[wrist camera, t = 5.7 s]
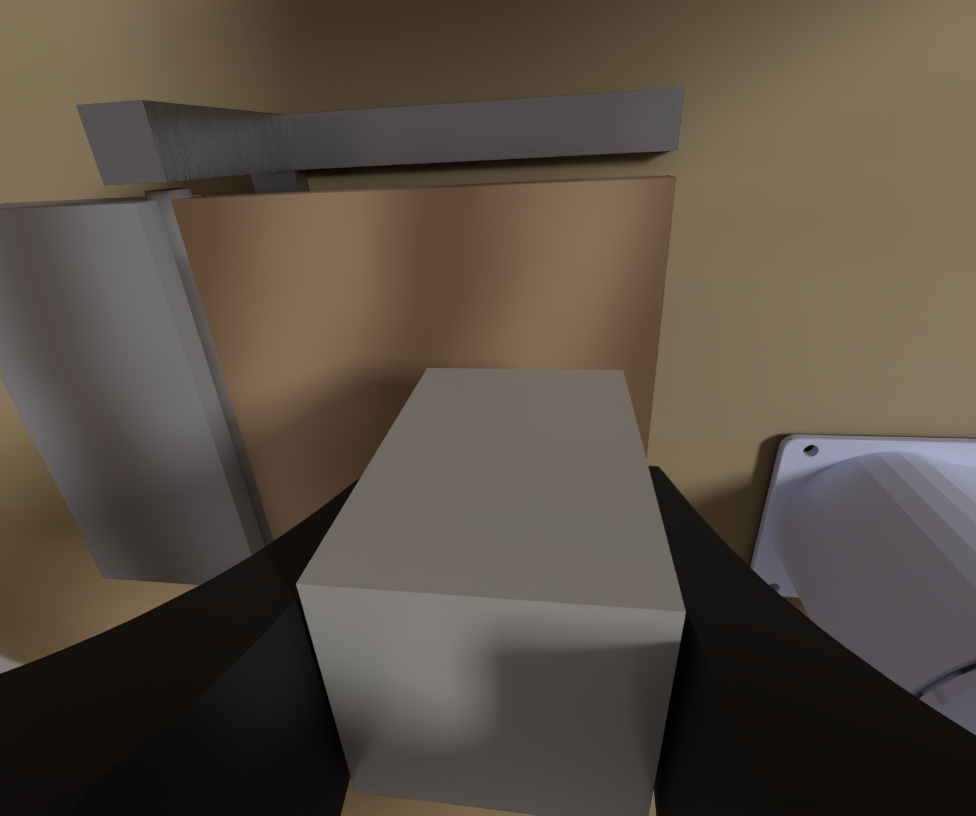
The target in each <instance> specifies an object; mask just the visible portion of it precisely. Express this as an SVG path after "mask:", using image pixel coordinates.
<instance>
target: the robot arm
mask: <svg viewBox="0 0 976 816" xmlns="http://www.w3.org/2000/svg"><path fill="white" fill-rule="evenodd" d="M809 445H814V447H813V449H811V450H810V451H803V450H804V449H805V447H807V446H809ZM648 467H649V471H650V475H651V479H652V483H653V487H654V491H655V494H656V498H657V502H658V506H659V510H660V514H661V518H662V522H663V525H664V529H665V533H666V537H667V541H668V545H669V549H670V553H671V556H672V560H673V564H674V568H675V572H676V576H677V580H678V583H679V587H680V591H681V595H682V599H683V603H684V607H685V611H686V614H685V620H684V625H683V630H682V636H681V641H680V647H679V652H678V658H677V663H676V669H675V674H674V680H673V685H672V691H671V696H670V701H669V707H668V712H667V718H666V723H665V729H664V734H663V740H662V745H661V751H660V756H659V762H658V767H657V772H656V778H655V783H654V796H655V806H656V816H976V439H967V438H925V437H882V436H839V435H790V436H787V437H785V438H784V439H783V440H782V441H781V443H780V445H779V448H778V452H777V456H776V460H775V465H774V469H773V473H772V477H771V482H770V486H769V490H768V494H767V498H766V503H765V507H764V511H763V515H762V519H761V524H760V528H759V532H758V536H757V540H756V545H755V549H754V553H753V557H752V562H751V566H750V567H749V566H748V565H747V564H746V563H745V562H744V561H743V560H742V559H741V558H740V557H739V556H738V555H737V554H736V553H735V552H734V551H733V550H732V549H731V548H730V547H729V546H728V545H727V544H726V543H725V542H724V541H723V540H722V539H721V537H720V536H719V535H718V534H717V533H716V532H715V531H714V530H713V529H712V528H711V527H710V526H709V525H708V524H707V522H706V521H705V520H704V519H703V518H702V517H701V516H700V515H699V514H698V512H697V511H696V510H695V509H694V508H693V507H692V505H691V504H690V503H689V502H688V501H687V500H686V498H685V497H684V496H683V495H682V494H681V493H680V491H679V490H678V489H677V488H676V487H675V485H674V484H673V483H672V482H671V480H670V479H669V478H668V477H667V476H666V474H665V473H664V472H663V471H662V470H661V469H660V468H659V467H658V466H648ZM360 478H361V477H360ZM360 478H358V479H357V480H356V481H355V482H353V483H352V484H351V485H350V486H348V487H347V488H346V489H344V490H343V491H342V492H341V493H339V494H338V495H337V496H335V497H334V498H333V499H331V500H330V501H329V502H327V503H326V504H325V505H324V506H322V507H321V508H320V509H318V510H317V511H316V512H314V513H313V514H312V515H310V516H309V517H307V518H306V519H304V520H303V521H302V522H300V523H299V524H297V525H296V526H294V527H293V528H292V529H290V530H289V531H287V532H286V533H284V534H283V535H281V536H280V537H279V538H277V539H276V540H274V541H273V542H271V543H270V544H268V545H267V546H265V547H264V548H262V549H261V550H259V551H258V552H256V553H254V554H253V555H251V556H250V557H248V558H246V559H245V560H243V561H241V562H240V563H238V564H236V565H235V566H233V567H231V568H229V569H228V570H226V571H224V572H223V573H221V574H219V575H217V576H216V577H214V578H212V579H210V580H209V581H207V582H205V583H203V584H201V585H199V586H197V587H196V588H194V589H192V590H190V591H188V592H186V593H184V594H182V595H180V596H178V597H176V598H174V599H172V600H170V601H168V602H166V603H164V604H162V605H160V606H158V607H156V608H154V609H152V610H150V611H148V612H146V613H144V614H142V615H140V616H138V617H136V618H134V619H132V620H130V621H127V622H125V623H123V624H121V625H118V626H116V627H114V628H112V629H110V630H107V631H105V632H103V633H101V634H98V635H96V636H94V637H91V638H89V639H87V640H84V641H82V642H80V643H77V644H75V645H73V646H70V647H68V648H65V649H63V650H61V651H58V652H56V653H53V654H51V655H48V656H46V657H43V658H41V659H38V660H36V661H33V662H31V663H28V664H25V665H23V666H20V667H17V668H15V669H12V670H9V671H7V672H4V673H1V674H0V816H340V815H341V811H342V807H343V804H344V800H345V796H346V792H347V788H348V784H349V780H350V776H351V775H350V772H349V768H348V765H347V761H346V758H345V754H344V751H343V747H342V744H341V740H340V737H339V733H338V730H337V726H336V723H335V719H334V716H333V712H332V709H331V705H330V702H329V698H328V695H327V691H326V687H325V684H324V680H323V677H322V673H321V670H320V666H319V663H318V659H317V656H316V652H315V649H314V645H313V642H312V638H311V635H310V631H309V628H308V624H307V621H306V617H305V614H304V610H303V607H302V603H301V600H300V596H299V593H298V589H297V586H296V583H297V581H298V580H299V578H300V577H301V575H302V573H303V572H304V570H305V568H306V567H307V565H308V563H309V562H310V560H311V558H312V557H313V555H314V554H315V552H316V550H317V549H318V547H319V545H320V544H321V542H322V540H323V539H324V537H325V535H326V534H327V532H328V530H329V529H330V527H331V526H332V524H333V522H334V521H335V519H336V517H337V516H338V514H339V512H340V511H341V509H342V507H343V506H344V504H345V503H346V501H347V499H348V498H349V496H350V494H351V493H352V491H353V489H354V488H355V486H356V484H357V483H358V481H359V480H360ZM771 584H775V585H773V586H770V585H771ZM782 596H783V597H798V598H799V599H800V601H801V603H802V604H803V606H804V608H805V610H806V612H807V614H808V616H809V618H810V619H809V618H808V617H807V616H805V615H804V614H803V613H802V612H800V611H799V610H798V609H797V608H796V607H794V606H793V605H792V604H791V603H790V602H788V601H787V600H786V599H785V598H783V597H782Z"/></svg>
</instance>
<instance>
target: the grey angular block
mask: <svg viewBox="0 0 976 816" xmlns="http://www.w3.org/2000/svg"><path fill="white" fill-rule="evenodd" d="M683 93H684V88H670V89H656V90H641V91H626V92H611V93H596V94H581V95H567V96H552V97H537V98H522V99H507V100H493V101H478V102H463V103H448V104H433V105H418V106H404V107H389V108H374V109H359V110H344V111H329V112H315V113H300V114H285V115H283V114H273V113H263V112H253V111H243V110H234V109H224V108H214V107H204V106H195V105H185V104H175V103H165V102H155V101H146V100H137V101H124V102H110V103H97V104H84V105H76V107H77V109H78V112H79V115H80V118H81V121H82V124H83V126H84V129H85V132H86V135H87V138H88V141H89V144H90V146H91V149H92V152H93V155H94V158H95V161H96V163H97V166H98V169H99V172H100V175H101V178H102V180H103V183H104V185H121V184H141V183H161V182H174V181H185V180H195V179H205V178H216V177H226V176H237V175H247V174H250V175H251V179H252V183H253V188H254V192H255V194H261V193H283V192H306V191H309V186H308V181H307V176H306V170H305V169H322V168H342V167H361V166H381V165H401V164H420V163H440V162H459V161H479V160H499V159H518V158H538V157H558V156H577V155H597V154H616V153H636V152H656V151H675V150H678V141H679V132H680V122H681V113H682V103H683Z"/></svg>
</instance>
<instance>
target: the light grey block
mask: <svg viewBox="0 0 976 816" xmlns="http://www.w3.org/2000/svg"><path fill="white" fill-rule="evenodd" d="M296 586H297V589H298V593H299V596H300V600H301V603H302V607H303V610H304V614H305V617H306V621H307V624H308V628H309V631H310V635H311V638H312V642H313V645H314V649H315V652H316V656H317V659H318V663H319V666H320V670H321V673H322V677H323V680H324V684H325V687H326V691H327V695H328V698H329V702H330V705H331V709H332V712H333V716H334V719H335V723H336V726H337V730H338V733H339V737H340V740H341V744H342V747H343V751H344V754H345V758H346V761H347V765H348V768H349V772H350V775H351V779H352V782H353V786H354V789H355V792H360V793H368V794H376V795H384V796H392V797H399V798H407V799H415V800H423V801H431V802H439V803H446V804H454V805H462V806H470V807H478V808H485V809H493V810H501V811H509V812H517V813H525V814H532V815H540V816H649V811H650V805H651V800H652V794H653V789H654V783H655V778H656V772H657V767H658V762H659V756H660V751H661V745H662V740H663V734H664V729H665V723H666V718H667V712H668V707H669V701H670V696H671V691H672V685H673V680H674V674H675V669H676V663H677V658H678V652H679V647H680V641H681V636H682V630H683V625H684V620H685V614H686V611H685V607H684V603H683V599H682V595H681V591H680V587H679V583H678V580H677V576H676V572H675V568H674V564H673V560H672V556H671V553H670V549H669V545H668V541H667V537H666V533H665V529H664V525H663V522H662V518H661V514H660V510H659V506H658V502H657V498H656V494H655V491H654V487H653V483H652V479H651V475H650V471H649V467H648V463H647V460H646V456H645V452H644V448H643V444H642V440H641V436H640V433H639V429H638V425H637V421H636V417H635V413H634V409H633V405H632V402H631V398H630V394H629V390H628V386H627V382H626V378H625V374H624V371H623V370H559V369H471V368H427V369H426V371H425V373H424V374H423V376H422V378H421V379H420V381H419V382H418V384H417V386H416V387H415V389H414V391H413V392H412V394H411V396H410V397H409V399H408V401H407V402H406V404H405V406H404V407H403V409H402V410H401V412H400V414H399V415H398V417H397V419H396V420H395V422H394V424H393V425H392V427H391V429H390V430H389V432H388V433H387V435H386V437H385V438H384V440H383V442H382V443H381V445H380V447H379V448H378V450H377V452H376V453H375V455H374V456H373V458H372V460H371V461H370V463H369V465H368V466H367V468H366V470H365V471H364V473H363V475H362V476H361V478H360V480H359V481H358V483H357V484H356V486H355V488H354V489H353V491H352V493H351V494H350V496H349V498H348V499H347V501H346V503H345V504H344V506H343V507H342V509H341V511H340V512H339V514H338V516H337V517H336V519H335V521H334V522H333V524H332V526H331V527H330V529H329V530H328V532H327V534H326V535H325V537H324V539H323V540H322V542H321V544H320V545H319V547H318V549H317V550H316V552H315V554H314V555H313V557H312V558H311V560H310V562H309V563H308V565H307V567H306V568H305V570H304V572H303V573H302V575H301V577H300V578H299V580H298V581H297V583H296Z"/></svg>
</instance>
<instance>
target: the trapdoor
mask: <svg viewBox="0 0 976 816" xmlns="http://www.w3.org/2000/svg"><path fill="white" fill-rule="evenodd" d="M675 182H676V177H673V176H670V175H666V176H643V177H621V178H598V179H576V180H553V181H531V182H508V183H486V184H463V185H441V186H418V187H396V188H373V189H351V190H328V191H306V192H283V193H261V194H238V195H216V196H201V194H197V195H192V192H191V189H190V188H177V189H162V190H151V191H145V194H146V197H130V198H108V199H86V200H64V201H41V202H19V203H4V204H0V377H1V379H2V381H3V383H4V385H5V387H6V389H7V391H8V393H9V395H10V397H11V399H12V401H13V402H14V404H15V406H16V408H17V410H18V412H19V414H20V416H21V418H22V420H23V422H24V424H25V426H26V428H27V430H28V432H29V434H30V436H31V438H32V440H33V441H34V443H35V445H36V447H37V449H38V451H39V453H40V455H41V457H42V459H43V461H44V463H45V465H46V467H47V469H48V471H49V473H50V475H51V477H52V478H53V480H54V482H55V484H56V486H57V488H58V490H59V492H60V494H61V496H62V498H63V500H64V502H65V504H66V506H67V508H68V510H69V512H70V514H71V515H72V517H73V519H74V521H75V523H76V525H77V527H78V529H79V531H80V533H81V535H82V537H83V539H84V541H85V543H86V545H87V547H88V549H89V551H90V553H91V554H92V556H93V558H94V560H95V562H96V564H97V566H98V568H99V570H100V572H101V574H102V576H103V578H111V579H124V580H138V581H152V582H165V583H179V584H193V585H201V584H203V583H205V582H207V581H209V580H210V579H212V578H214V577H216V576H217V575H219V574H221V573H223V572H224V571H226V570H228V569H229V568H231V567H233V566H235V565H236V564H238V563H240V562H241V561H243V560H245V559H246V558H248V557H250V556H251V555H253V554H254V553H256V552H258V551H259V550H261V549H262V548H264V547H265V546H267V545H268V544H270V543H271V542H273V541H274V540H276V539H277V538H279V537H280V536H281V535H283V534H284V533H286V532H287V531H289V530H290V529H292V528H293V527H294V526H296V525H297V524H299V523H300V522H302V521H303V520H304V519H306V518H307V517H309V516H310V515H312V514H313V513H314V512H316V511H317V510H318V509H320V508H321V507H322V506H324V505H325V504H326V503H327V502H329V501H330V500H331V499H333V498H334V497H335V496H337V495H338V494H339V493H341V492H342V491H343V490H344V489H346V488H347V487H348V486H350V485H351V484H352V483H353V482H355V481H356V480H357V479H358V478H360V477H361V476H362V475H363V473H364V471H365V470H366V468H367V466H368V465H369V463H370V461H371V460H372V458H373V456H374V455H375V453H376V452H377V450H378V448H379V447H380V445H381V443H382V442H383V440H384V438H385V437H386V435H387V433H388V432H389V430H390V429H391V427H392V425H393V424H394V422H395V420H396V419H397V417H398V415H399V414H400V412H401V410H402V409H403V407H404V406H405V404H406V402H407V401H408V399H409V397H410V396H411V394H412V392H413V391H414V389H415V387H416V386H417V384H418V382H419V381H420V379H421V378H422V376H423V374H424V373H425V371H426V369H427V368H471V369H559V370H623V371H624V374H625V378H626V382H627V386H628V390H629V394H630V398H631V402H632V405H633V409H634V413H635V417H636V421H637V425H638V429H639V433H640V436H641V440H642V444H643V448H644V452H645V456H646V458H647V449H648V439H649V430H650V420H651V410H652V401H653V391H654V382H655V372H656V363H657V353H658V344H659V334H660V325H661V315H662V306H663V296H664V287H665V277H666V268H667V258H668V249H669V239H670V229H671V220H672V210H673V201H674V191H675Z"/></svg>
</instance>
